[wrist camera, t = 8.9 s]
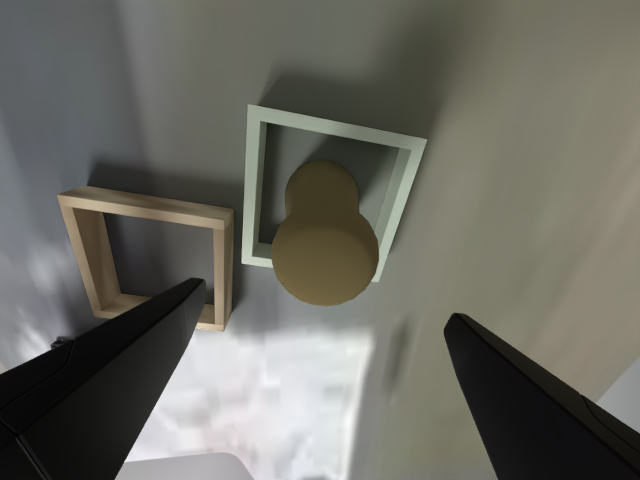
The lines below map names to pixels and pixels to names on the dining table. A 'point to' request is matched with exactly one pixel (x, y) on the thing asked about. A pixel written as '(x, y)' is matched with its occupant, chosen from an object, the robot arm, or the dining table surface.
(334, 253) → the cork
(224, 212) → the bin
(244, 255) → the bin
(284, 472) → the dining table surface
